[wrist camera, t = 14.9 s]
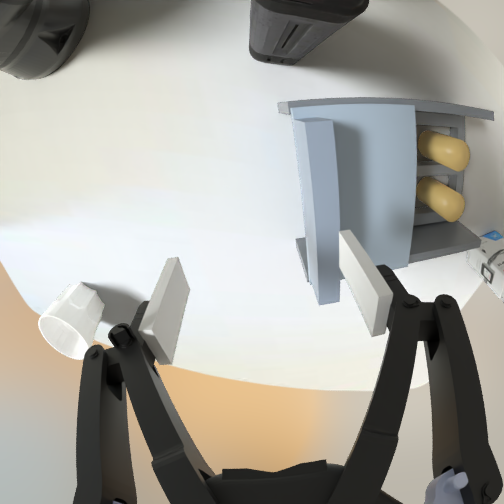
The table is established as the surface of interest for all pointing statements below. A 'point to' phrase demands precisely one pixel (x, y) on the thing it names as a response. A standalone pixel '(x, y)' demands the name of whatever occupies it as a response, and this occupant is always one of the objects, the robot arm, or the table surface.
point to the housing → (425, 219)
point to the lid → (355, 185)
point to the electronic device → (296, 26)
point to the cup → (72, 320)
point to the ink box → (490, 262)
